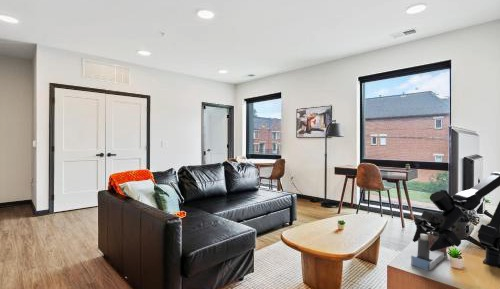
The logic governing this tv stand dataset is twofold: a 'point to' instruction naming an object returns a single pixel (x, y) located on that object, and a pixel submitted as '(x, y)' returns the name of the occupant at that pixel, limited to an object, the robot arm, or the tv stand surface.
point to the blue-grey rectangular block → (428, 265)
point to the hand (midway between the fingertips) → (421, 245)
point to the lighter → (433, 238)
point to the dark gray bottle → (423, 247)
